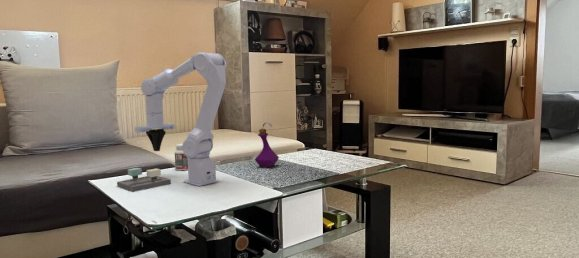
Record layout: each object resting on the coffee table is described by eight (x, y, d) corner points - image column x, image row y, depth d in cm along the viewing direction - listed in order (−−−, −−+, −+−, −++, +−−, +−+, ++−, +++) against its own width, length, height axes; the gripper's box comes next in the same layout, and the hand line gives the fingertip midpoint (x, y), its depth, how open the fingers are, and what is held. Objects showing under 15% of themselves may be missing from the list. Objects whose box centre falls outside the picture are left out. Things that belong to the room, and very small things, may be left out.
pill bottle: (186, 171, 162) (185, 145, 161) (172, 170, 163) (171, 145, 162) (192, 168, 168) (191, 143, 167) (179, 167, 169) (178, 143, 168)
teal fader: (142, 177, 143) (141, 168, 143) (132, 179, 141) (131, 170, 140) (138, 176, 145) (137, 167, 145) (128, 178, 142) (127, 169, 142)
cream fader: (161, 178, 141) (160, 169, 141) (151, 180, 139) (150, 171, 138) (156, 177, 143) (156, 168, 143) (147, 179, 140) (146, 169, 140)
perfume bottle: (254, 167, 166) (253, 122, 164) (262, 164, 173) (261, 120, 171) (271, 168, 164) (270, 123, 162) (279, 165, 170) (278, 121, 168)
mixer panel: (170, 183, 142) (170, 179, 142) (132, 191, 132) (132, 186, 132) (154, 178, 150) (154, 174, 149) (117, 186, 140) (117, 181, 140)
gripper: (167, 111, 157) (169, 147, 158) (129, 113, 146) (132, 152, 148) (177, 111, 152) (179, 149, 153) (139, 114, 141) (141, 154, 143)
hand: (156, 150), depth 150 cm, fingers closed
